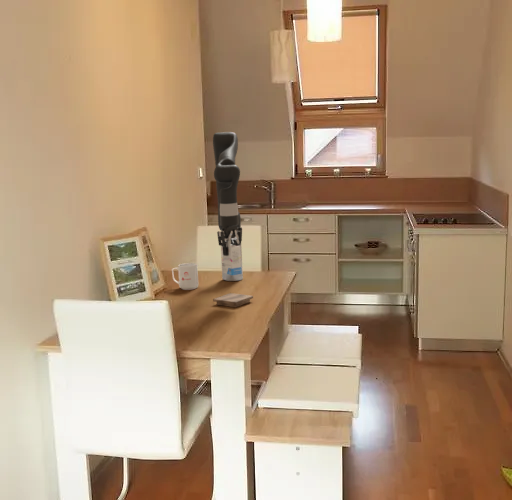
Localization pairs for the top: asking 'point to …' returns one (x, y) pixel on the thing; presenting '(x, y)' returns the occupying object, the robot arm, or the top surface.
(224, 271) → the ink box
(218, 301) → the stand
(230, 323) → the top surface
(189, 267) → the mug
